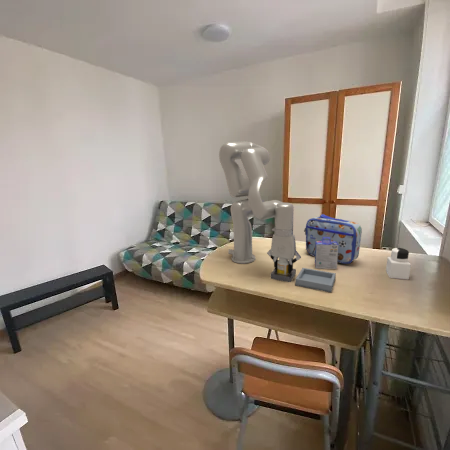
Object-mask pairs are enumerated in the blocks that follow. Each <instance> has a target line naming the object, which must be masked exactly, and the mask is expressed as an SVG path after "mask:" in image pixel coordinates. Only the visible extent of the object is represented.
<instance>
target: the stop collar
mask: <svg viewBox="0 0 450 450" xmlns="http://www.w3.org/2000/svg"><path fill="white" fill-rule="evenodd" d="M296 275H297V268H293V270H292V271H291V272H290V273H289V276H288V275H282V274H277V270H276V271H275V268H274V269H273V270H272V271H271V272H270V277H269V278H270V280H275V281H279V282H280V281H281V282H284V283H285V282H286V283H292V281H293V279H294V278H295V277H296Z"/></svg>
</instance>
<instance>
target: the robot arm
mask: <svg viewBox="0 0 450 450" xmlns="http://www.w3.org/2000/svg"><path fill="white" fill-rule="evenodd" d="M218 157H219V162H220V165H221V168H222V170H223V172H224V177H225V180H226V184H227V188H228V192H229V195H230V196H231V197H232V198H235V199H237V198H244V199H240V200H236V201H234V202H233V203H232V204H231V206H230V215H231V218H232V226H233V227H232V229H233V230H232V231H233V249H231V248H229V249H228V251H227V252H228V255H232V256H231V261H232V262H233V263H236V264H241V265H242V264H250V263H253V262H254V261H256V255H254V254H253V228H252V224H251V221H250V220H249V218H253V217H255V218H256V219H257V220H260V221H263V220H268V219H273V218H274V227H272V228H271V231H272V232H274V234H272V239H271V245H270V246H271V247H270V248H269V250H268V251H267V252H266V254H267V255H268V256H269V257H270V259H271V260H272V262H273V268H274V269H275V271H276V270H277V262H278V260H279V258H284V259H288V261H289V265H288V273H290V272H291V271H292V270H293V269H294V264H295V263H296V262H297V261H299V260H300V259H301V258H302V256H301V255H300V254H299V252H298V251H297V245H296V236H295V234H294V210H295V209H294V208H295V207H294V205H293V203H290V202H283V201H281V200H278V199H272V200H266V201H263V199H262V195H261V191H260V188H261V186H262V184H264V183H266V182H267V181H268V179H269V175H268V173H267V170H266V168H265V166H266V165H268V164H269V162H270V160H271V154H270V152H269V151H268V149H267V148H265V147H264V146H262V145H260V144H256V143H255V142H251V141H246V140H245V141H228V142H224V143H223V144H222V145H221V146H220V149H219V152H218ZM236 160H240V161H241V163H242V165H243V169H244V170H245V172H246V175H247V177H244V175H243V172H242V171H243V170H242V169H241V167H240V165H239V164H238V163H237V162H236ZM245 197H246V198H245ZM294 257H295V258H294Z"/></svg>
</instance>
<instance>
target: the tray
mask: <svg viewBox="0 0 450 450" xmlns="http://www.w3.org/2000/svg"><path fill="white" fill-rule="evenodd" d="M336 276H337V273H335V272H330V271H324V270H317V269H312V268H306V267H302V268H301V269H300V271H299V272H298V274H297V276H296V278H295V286H296V287H301V288H307V289H311V290H315V291H320V292H326V293H332V292H333V288H334V286H335V282H336Z"/></svg>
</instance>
